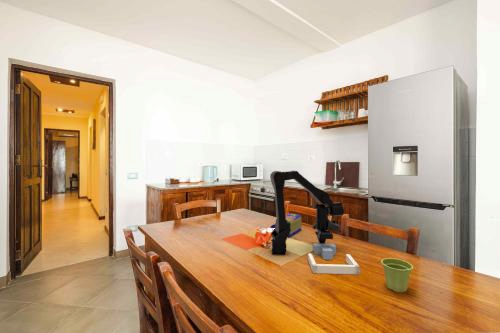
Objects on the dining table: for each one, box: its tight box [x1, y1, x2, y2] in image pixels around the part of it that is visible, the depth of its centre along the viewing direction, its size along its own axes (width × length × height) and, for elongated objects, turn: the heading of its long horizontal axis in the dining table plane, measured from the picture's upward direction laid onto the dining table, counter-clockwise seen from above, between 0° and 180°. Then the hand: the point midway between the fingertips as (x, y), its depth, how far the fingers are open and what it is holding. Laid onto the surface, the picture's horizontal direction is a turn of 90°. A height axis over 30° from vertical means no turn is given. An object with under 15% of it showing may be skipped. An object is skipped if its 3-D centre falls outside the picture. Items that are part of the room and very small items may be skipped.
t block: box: [312, 242, 337, 261], centre depth 114 cm, size 10×10×4 cm
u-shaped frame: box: [307, 253, 361, 275], centre depth 102 cm, size 18×12×3 cm
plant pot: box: [381, 257, 414, 293], centre depth 84 cm, size 9×9×9 cm
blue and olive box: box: [270, 213, 303, 238], centre depth 148 cm, size 10×25×10 cm, turn 145°
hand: (322, 247), depth 121 cm, fingers closed
